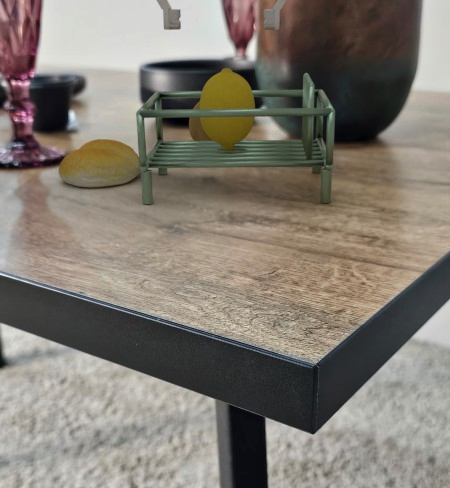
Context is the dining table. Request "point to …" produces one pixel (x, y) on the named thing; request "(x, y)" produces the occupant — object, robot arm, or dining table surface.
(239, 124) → the lemon
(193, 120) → the potato
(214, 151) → the dish rack
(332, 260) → the dining table surface
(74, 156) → the bread roll
